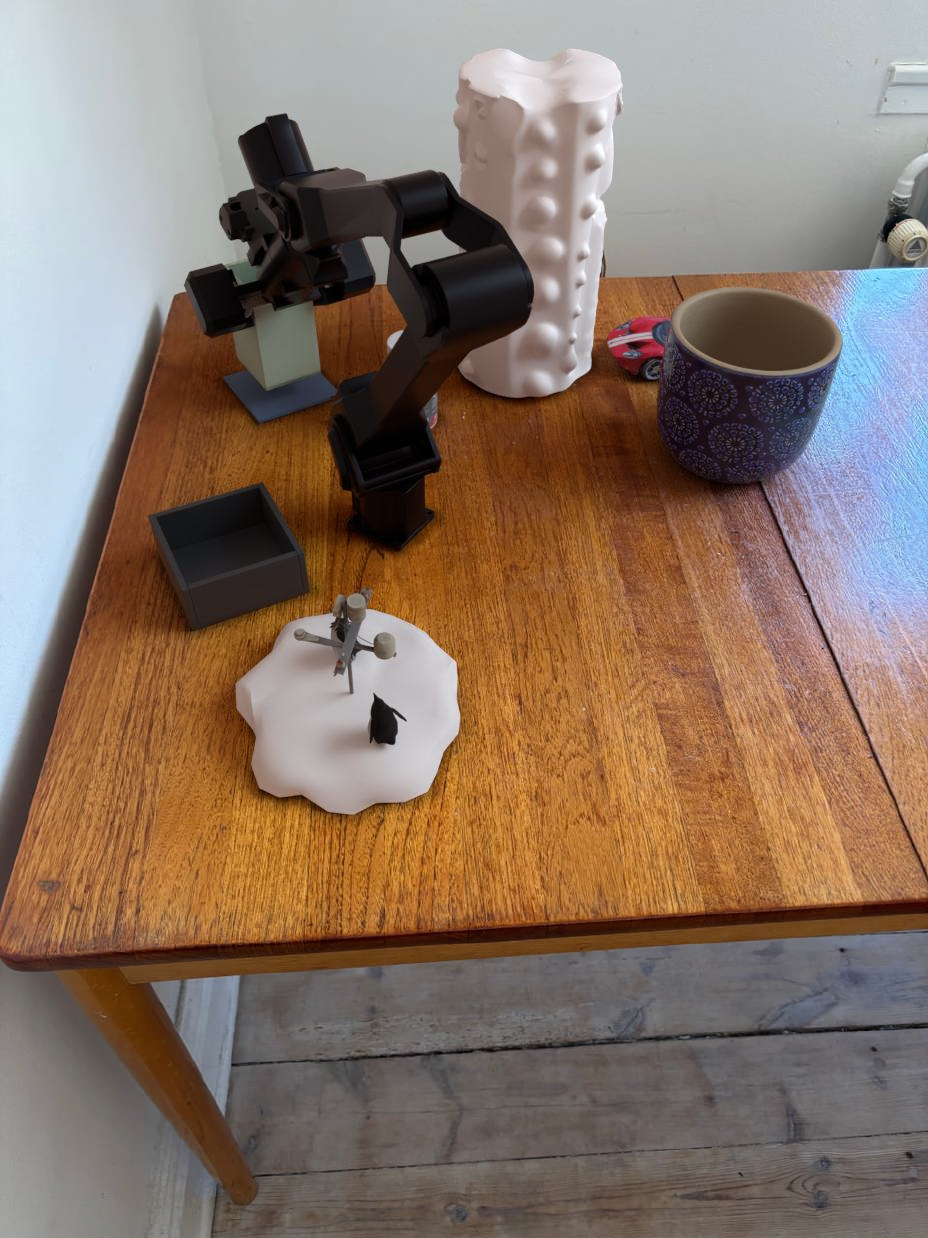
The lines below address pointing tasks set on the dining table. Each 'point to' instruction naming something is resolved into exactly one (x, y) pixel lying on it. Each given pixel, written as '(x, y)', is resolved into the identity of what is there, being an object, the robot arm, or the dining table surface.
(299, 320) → the green basket
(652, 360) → the toy car
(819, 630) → the dining table surface
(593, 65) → the vase
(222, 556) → the charcoal basket
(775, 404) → the planter
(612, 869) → the dining table surface
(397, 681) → the figurine
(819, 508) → the dining table surface
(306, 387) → the mat
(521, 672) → the dining table surface
